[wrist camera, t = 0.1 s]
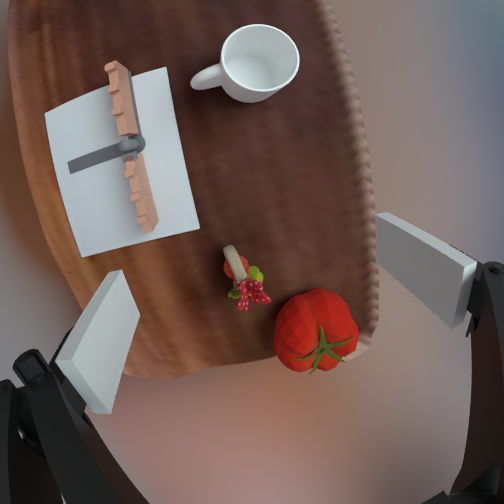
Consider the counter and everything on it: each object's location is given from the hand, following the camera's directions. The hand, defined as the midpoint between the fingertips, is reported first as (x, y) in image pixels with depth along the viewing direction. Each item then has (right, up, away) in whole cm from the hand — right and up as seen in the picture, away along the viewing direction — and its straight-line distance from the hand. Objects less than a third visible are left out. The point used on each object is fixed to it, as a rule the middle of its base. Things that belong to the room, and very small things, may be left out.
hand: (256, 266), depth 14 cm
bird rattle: (-3, -1, +31) cm, 31 cm away
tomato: (+9, -10, +36) cm, 38 cm away
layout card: (-20, +13, +22) cm, 32 cm away
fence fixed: (-17, +20, +19) cm, 33 cm away
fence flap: (-15, +10, +23) cm, 29 cm away
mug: (-2, +24, +20) cm, 32 cm away
